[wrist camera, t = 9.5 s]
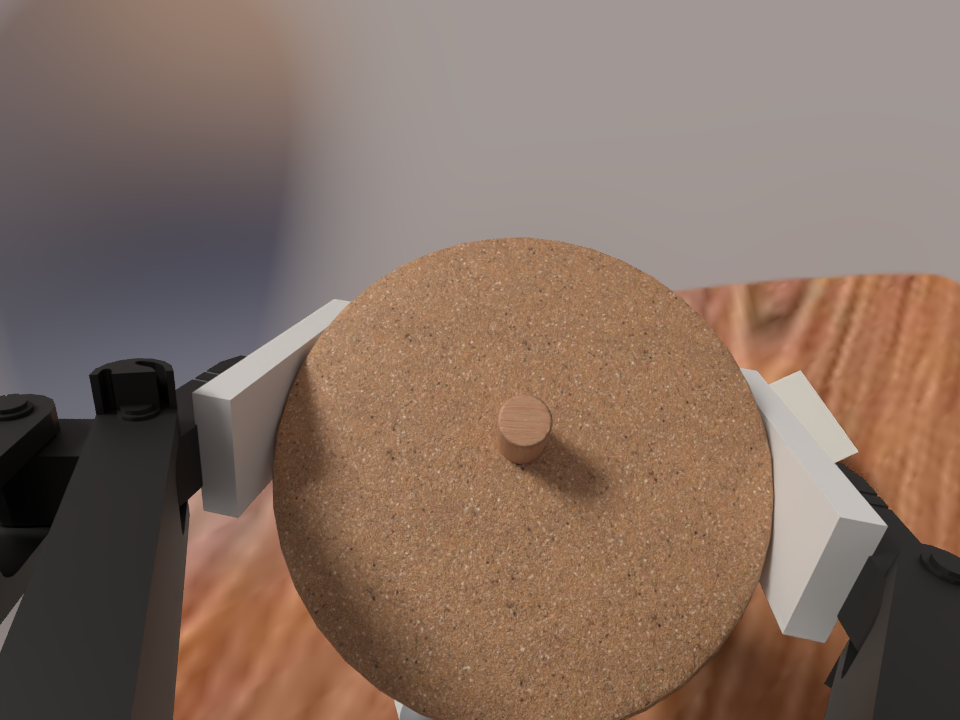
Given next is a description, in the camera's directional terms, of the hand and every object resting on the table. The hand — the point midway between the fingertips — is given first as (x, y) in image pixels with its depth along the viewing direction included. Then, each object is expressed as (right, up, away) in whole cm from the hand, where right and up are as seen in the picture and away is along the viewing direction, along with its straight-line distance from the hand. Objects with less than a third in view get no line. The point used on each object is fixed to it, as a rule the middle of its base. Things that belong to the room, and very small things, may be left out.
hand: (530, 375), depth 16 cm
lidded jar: (-1, -4, +3) cm, 5 cm away
